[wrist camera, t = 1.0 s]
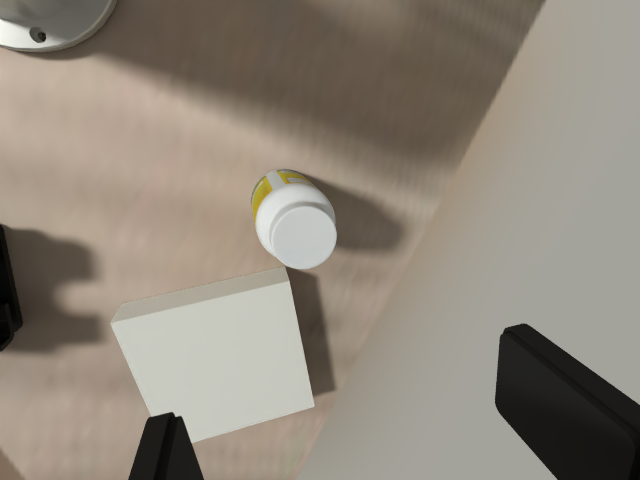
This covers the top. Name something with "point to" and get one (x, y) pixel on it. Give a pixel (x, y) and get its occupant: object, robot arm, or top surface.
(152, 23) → the top surface
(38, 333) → the top surface
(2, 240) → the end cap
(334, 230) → the supplement bottle
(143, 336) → the base plate
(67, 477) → the top surface
